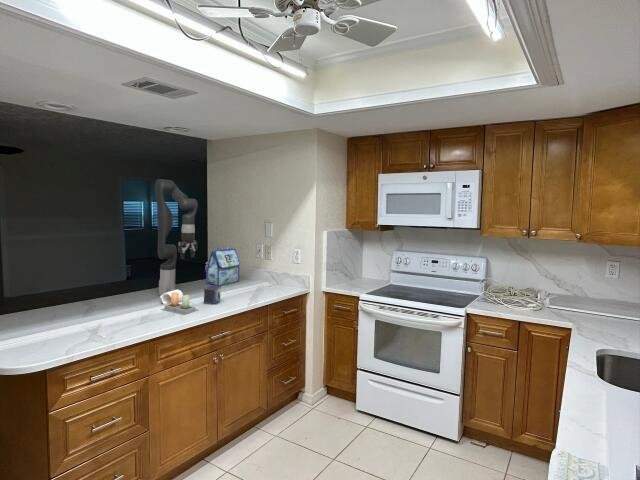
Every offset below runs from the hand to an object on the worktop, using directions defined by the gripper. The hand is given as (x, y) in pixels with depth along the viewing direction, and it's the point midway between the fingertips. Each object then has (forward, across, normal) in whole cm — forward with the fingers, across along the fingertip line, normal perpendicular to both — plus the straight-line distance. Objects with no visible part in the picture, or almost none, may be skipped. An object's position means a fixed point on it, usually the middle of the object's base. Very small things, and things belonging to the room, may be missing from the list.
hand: (187, 258), depth 244 cm
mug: (+28, +6, -8) cm, 30 cm away
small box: (+28, -8, +13) cm, 32 cm away
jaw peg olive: (+27, +15, +13) cm, 34 cm away
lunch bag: (+28, -58, -18) cm, 67 cm away
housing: (+28, +15, +9) cm, 33 cm away
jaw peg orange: (+27, +15, +5) cm, 31 cm away
